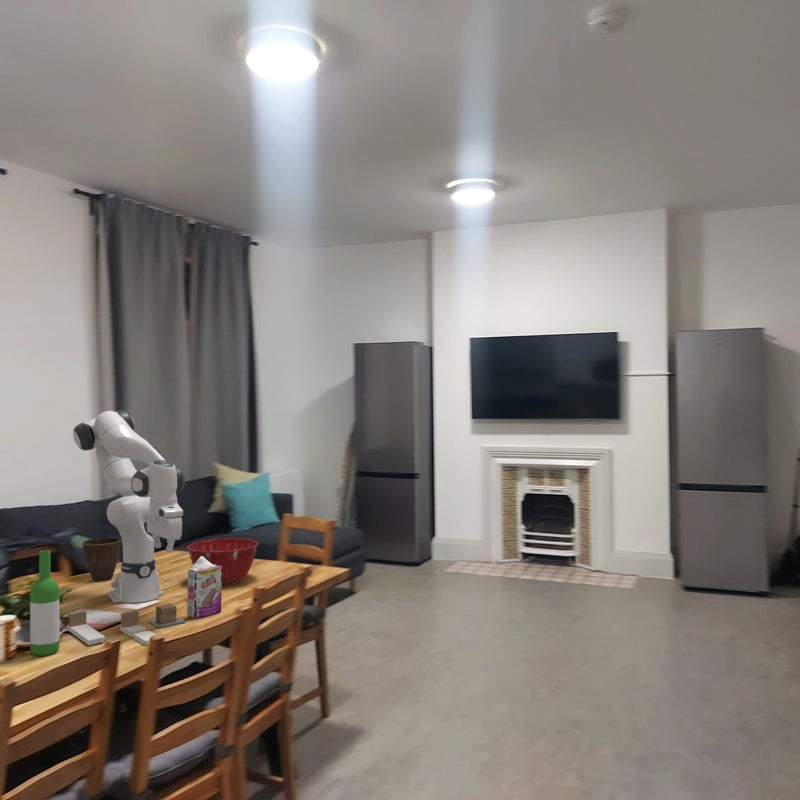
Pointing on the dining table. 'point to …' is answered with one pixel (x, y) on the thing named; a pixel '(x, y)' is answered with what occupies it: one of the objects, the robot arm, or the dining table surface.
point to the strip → (83, 628)
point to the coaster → (165, 623)
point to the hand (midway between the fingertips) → (163, 549)
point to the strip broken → (134, 627)
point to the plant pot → (101, 557)
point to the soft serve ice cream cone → (201, 563)
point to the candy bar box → (204, 591)
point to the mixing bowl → (226, 556)
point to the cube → (165, 613)
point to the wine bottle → (44, 610)
